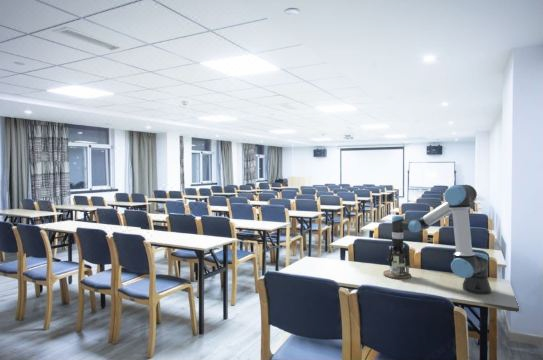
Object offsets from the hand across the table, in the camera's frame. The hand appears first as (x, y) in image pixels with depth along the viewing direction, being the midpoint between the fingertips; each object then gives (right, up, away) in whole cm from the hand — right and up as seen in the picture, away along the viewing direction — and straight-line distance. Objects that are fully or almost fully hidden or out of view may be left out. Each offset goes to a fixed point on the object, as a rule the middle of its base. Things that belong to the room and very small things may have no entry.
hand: (397, 269), depth 253 cm
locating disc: (0, -4, 0) cm, 4 cm away
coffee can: (0, -2, 0) cm, 2 cm away
